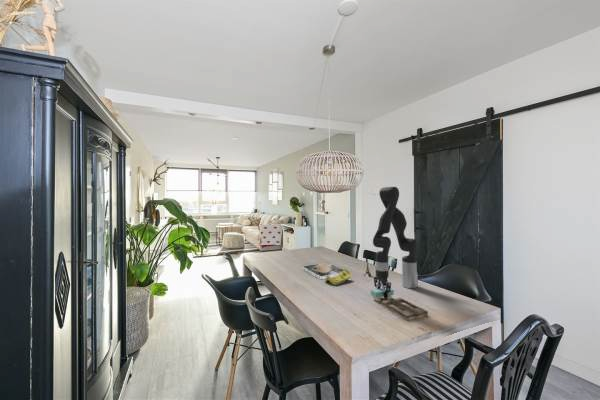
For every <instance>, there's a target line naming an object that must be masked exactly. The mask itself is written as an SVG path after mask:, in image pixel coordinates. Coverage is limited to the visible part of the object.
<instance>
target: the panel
mask: <svg viewBox="0 0 600 400" xmlns="http://www.w3.org/2000/svg"><path fill="white" fill-rule="evenodd" d="M385 290H386V288H385ZM388 290H389V289H388ZM394 291H395V290H394V289H392V288H391V290H390V292H388V298H386V299H387V300H392V296H394V295H395V292H394ZM370 295H371V296H372V298H373V300H375V302H381V299H382V298H384V290H383V288H382V287H381V288H380V289H377V288H375V289H371V290H370ZM386 299H385V300H386Z"/></svg>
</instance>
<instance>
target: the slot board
mask: <svg viewBox="0 0 600 400" xmlns="http://www.w3.org/2000/svg"><path fill="white" fill-rule="evenodd" d="M380 306H381V307H383V308H384V309H386V310H388V311H390V312H391V313H393V314H395V315H397V316H398V317H400V318H401V319H403V320H405V321H410V320H416V319H419V318H424V317H428V316H429V315H428V310H426V309H424V308H422V307H420V306H418V305H416V304H414V303H412V302H409V301H408V300H406V299H404V298H402V297H399V298H393V299H392V298H391V299H387V300H386V299H385V300H382V301H380Z"/></svg>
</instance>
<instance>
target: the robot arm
mask: <svg viewBox="0 0 600 400" xmlns="http://www.w3.org/2000/svg"><path fill="white" fill-rule="evenodd" d="M378 195H379V198H380V201H381V203H382V204H383V206H384V208H385V210H384V211H383V213H382V214H381V216H380V217H379V221H378V227H377V230H376V232H375V235H374V236H373V238H372V244H373V246H374V247H375V248H380V249H382V251H381V250H378V251H376V253H375V276H373V282H374V283H373V284H374V287H375V289H381V288H383V290H384V297H383V299H385V300H386V298H388V292H390V290H391V289H392V288H391V287H392V282H391V281H390V282H389V281H388V278H389V275H390V274H389V270H390V269H389V253H390V249H391V244H392V241H391V238H390V237H388V236H383V235H386V234H389V233H390V231H391V225H392V227H393V230H394V232H395V235H396V240H397V243H398V246H399V249H400V250H401V251H403V252H406V253H407V252H408V255H405V256H402V258H401V259H402V260H401V265H402V266H401V269H402V271H401V272H402V274H401V278H402V280H401V281H402V284H401V285H402V287H403V288H406V289H407V288H408V289H416V288H418V287H419V276H418V275H419V273H418V271H417V268H418V266H417V262H418V261H417V260H418V250H419V248H418V247H419V245H418V244H419V243H418V240H416V239H415V238H408V237H406V236H405V230H406V228H407V220H406V217H405V215H404V213H403V212H402V211H401V209H399V208H398V207H397V204H398V201H399V199H400V198H399V197H400V190H399V187H398V188H397V186H386V187H385V186H384V187H381V188H380V190H379V193H378ZM385 288H386V290H385ZM388 289H389V290H388Z"/></svg>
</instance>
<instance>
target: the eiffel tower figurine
mask: <svg viewBox="0 0 600 400" xmlns="http://www.w3.org/2000/svg"><path fill="white" fill-rule="evenodd" d="M366 262H367V263H366V264H367V265H366V271H365V273H366V274H368V276H369V277H368V278H371V277H374V276H373V275H374V274H373V275H372V276H371V274H372V273H371V272H370V270H369V261H368V260H367V261H366ZM366 274H363V277H365V275H366Z"/></svg>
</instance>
